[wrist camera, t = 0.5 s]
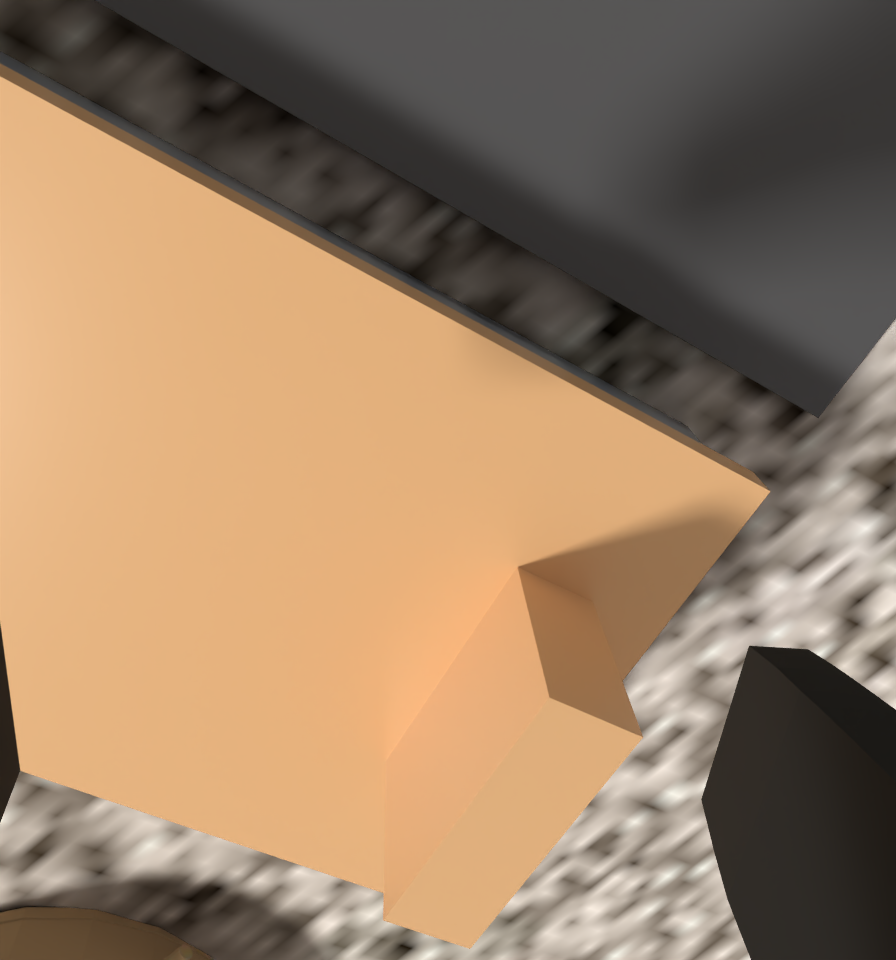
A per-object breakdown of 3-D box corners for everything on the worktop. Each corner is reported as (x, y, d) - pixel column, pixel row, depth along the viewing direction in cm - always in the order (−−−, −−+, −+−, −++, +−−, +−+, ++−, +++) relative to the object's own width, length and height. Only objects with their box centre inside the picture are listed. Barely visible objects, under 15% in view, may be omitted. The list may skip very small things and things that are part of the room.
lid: (736, 453, 16) (872, 605, 12) (438, 852, 20) (451, 1082, 16) (-199, -57, 12) (-569, -136, 7) (-339, 575, 16) (-634, 778, 11)
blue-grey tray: (687, 426, 18) (729, 478, 15) (430, 786, 22) (435, 869, 19) (-117, -13, 14) (-218, -29, 11) (-256, 526, 18) (-352, 593, 15)
